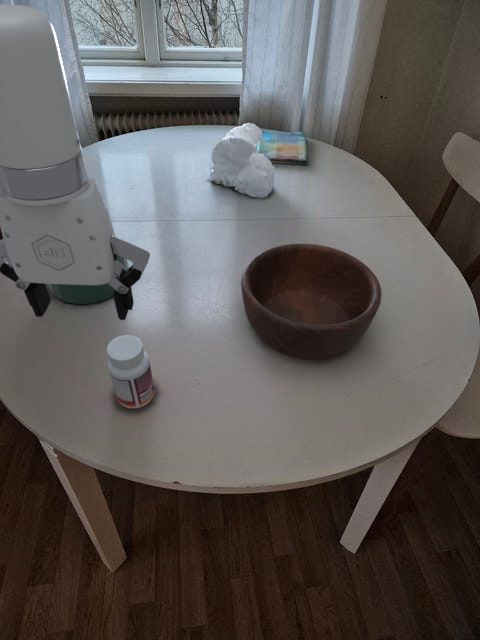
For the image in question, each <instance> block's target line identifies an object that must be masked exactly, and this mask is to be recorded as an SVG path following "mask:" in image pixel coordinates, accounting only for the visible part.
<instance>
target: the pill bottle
mask: <svg viewBox="0 0 480 640" xmlns="http://www.w3.org/2000/svg"><path fill="white" fill-rule="evenodd" d="M106 354H107V358H108V361H107V370H108V373H109V376H110V380H111V383H112V387H113V391H114V394H115V398H116V400H117V402H118V403H119V405H120V406H122V407H124V408H127V409H139V408H142V407H144V406H146V405H148V404H149V403H150V402H151V400H152V399H153V397H154V395H155V384H154V380H153V374H152V369H151V362H150V358H149V355H148V353H147V352H146V351H145V350H144V345H143V341H142V340H141V339H140V338H139V337H137V336H135V335H131V334H125V335H119V336H116V337H115V338H113V339H112V340H110V342H109V343H108V344H107V347H106Z"/></svg>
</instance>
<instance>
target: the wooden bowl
mask: <svg viewBox="0 0 480 640" xmlns="http://www.w3.org/2000/svg"><path fill="white" fill-rule="evenodd" d="M378 279H379V278H377V276H376V274H375V273H374V272H373V270H371V268H370V267H369V266H367V265H366V264H365V263H364V262H363V261H361V260H360V259H358V258H357V257H355V256H353V255H351V254H349V253H347V252H346V251H345V252H344V251H342V250H340V249H337V248H335V247H330V246H327V245H321V244H314V243H289V244H288V243H287V244H282V245H277V246H274V247H271V248H268V249H266V250H264V251H261V252H260V253H258V254H257V255H255V256H254V257H252V258H251V260H249V262H248V263H247V264H246V265H245V267H244V270H243V272H242V274H241V279H240V287H241V295H242V296H241V297H242V304H243V307H244V311H245V315H246V318H247V320H248V322H249V323H248V324H249V325H250V326H251V328H252V329H253V331H254V333H255V334H256V335H257V336H258V338H259V339H260V340H261V341H263V343H264V344H266V345H267V346H268V347H270V348H271V349H273V350H275V351H277V352H279V353H281V354H284V355H287V356H289V357H293V358H298V359H303V360H304V359H305V360H321V359H326V358H331V357H334V356H336V355H339V354H341V353H343V352H344V351H346V350H348V349H350V348H351V347H352V346H353V345H354V344H356V343H358V341H359V340H360V339H361V338H362V337H363V335H365V333H366V331H367V330H369V329H368V328H369V327H370V325H371V324H372V322H373V320H374V318H375V316H376V315H377V313H378V311H379V308H380V306H381V303H382V288H381V283H380V281H379V280H378Z"/></svg>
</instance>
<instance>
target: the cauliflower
mask: <svg viewBox="0 0 480 640" xmlns="http://www.w3.org/2000/svg"><path fill="white" fill-rule="evenodd" d="M262 137H263V136H262V129H261V128H260V127H259V126H257V125H256V124H255V123H253V122H252V123H250V122H248V123H246V122H245V123H243V124H242V126H241V125H240V126H235V127H233V128H232V129H231V130H229V131H228V132H227V133H226V134H225V136H224V137H223V139H220V140H219V141H217V142H216V143H215V144H214V146H213V147H212V151H211V162H212V164H213V166H212V165H209V170H210V173H209V181H211V182H214V183H215V184H218V185H222V186H224V187H227V188H229V187H231V188H232V187H234V190H235V191H236V192H238V193H240V194H246V195H248V196H249V197H252V198H261V199H265V198H267V197H268V196H269V194H271V192H272V191H273V186H274V183H275V170H276V166H273V162H271V161H270V160H269V159H268V158H266V157H265V156H264V154H259V153H257V152H255V151H256V149H255V148H257V144H258V143H259V142H260V141H261V139H262Z"/></svg>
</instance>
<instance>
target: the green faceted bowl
mask: <svg viewBox="0 0 480 640" xmlns="http://www.w3.org/2000/svg"><path fill="white" fill-rule="evenodd" d="M118 261H119V262H120V263H121V264H122V265H123V266H125V267H126V268H127V269H129V268H130V267H129V264H128V260H127V259H125V258H123V257H120V256H119V260H118ZM113 273H114V272H113ZM114 274H115V273H114ZM115 275H116V276H118V275H117V274H115ZM118 277H119V276H118ZM47 285H48V288H49V290H50V292H51V293H52V294H53V296H54V297H55V298H57V299H59V300H61V301H63V302H65V303H70V304H74V305H85V304H86V305H87V304H88V305H89V304H93V303H99V302H103V301H105V300H107V299H109V298H112V297H114V296H113V295H114V291H115V289H114V288H113V287H112V286H110V285H109V284H108V283H106V284H102V285H69V284H47Z"/></svg>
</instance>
